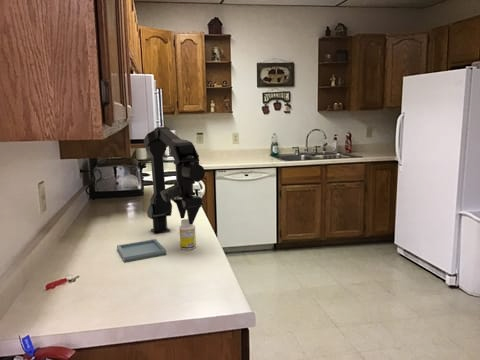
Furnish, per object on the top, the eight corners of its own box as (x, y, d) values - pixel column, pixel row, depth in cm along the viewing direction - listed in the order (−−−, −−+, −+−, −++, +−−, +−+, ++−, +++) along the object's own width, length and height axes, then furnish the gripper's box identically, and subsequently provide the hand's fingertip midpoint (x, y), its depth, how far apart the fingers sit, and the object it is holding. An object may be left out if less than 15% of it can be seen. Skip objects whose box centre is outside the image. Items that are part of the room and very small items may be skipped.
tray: (117, 250, 147) (116, 245, 147) (155, 243, 153) (155, 238, 153) (124, 262, 135) (124, 257, 134) (166, 254, 141) (165, 249, 140)
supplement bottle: (185, 244, 151) (184, 217, 149) (198, 246, 149) (197, 219, 147) (177, 249, 146) (175, 221, 144) (190, 251, 144) (189, 223, 142)
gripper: (154, 176, 148) (157, 218, 150) (169, 184, 131) (172, 231, 134) (184, 173, 153) (186, 214, 155) (202, 180, 136) (204, 226, 139)
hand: (186, 221), depth 146 cm, fingers open, 9 cm apart
